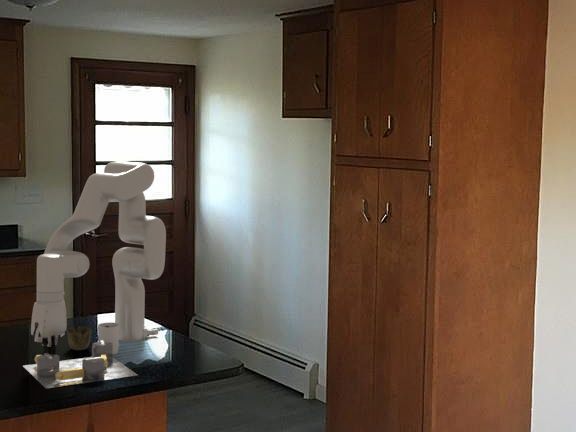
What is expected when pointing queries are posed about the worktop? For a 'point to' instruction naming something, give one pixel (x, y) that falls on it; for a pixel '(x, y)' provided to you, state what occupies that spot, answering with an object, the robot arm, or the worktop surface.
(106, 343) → the knob
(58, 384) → the plate
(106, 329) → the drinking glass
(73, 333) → the cup
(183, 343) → the worktop surface
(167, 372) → the worktop surface
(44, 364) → the knob
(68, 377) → the knob left
